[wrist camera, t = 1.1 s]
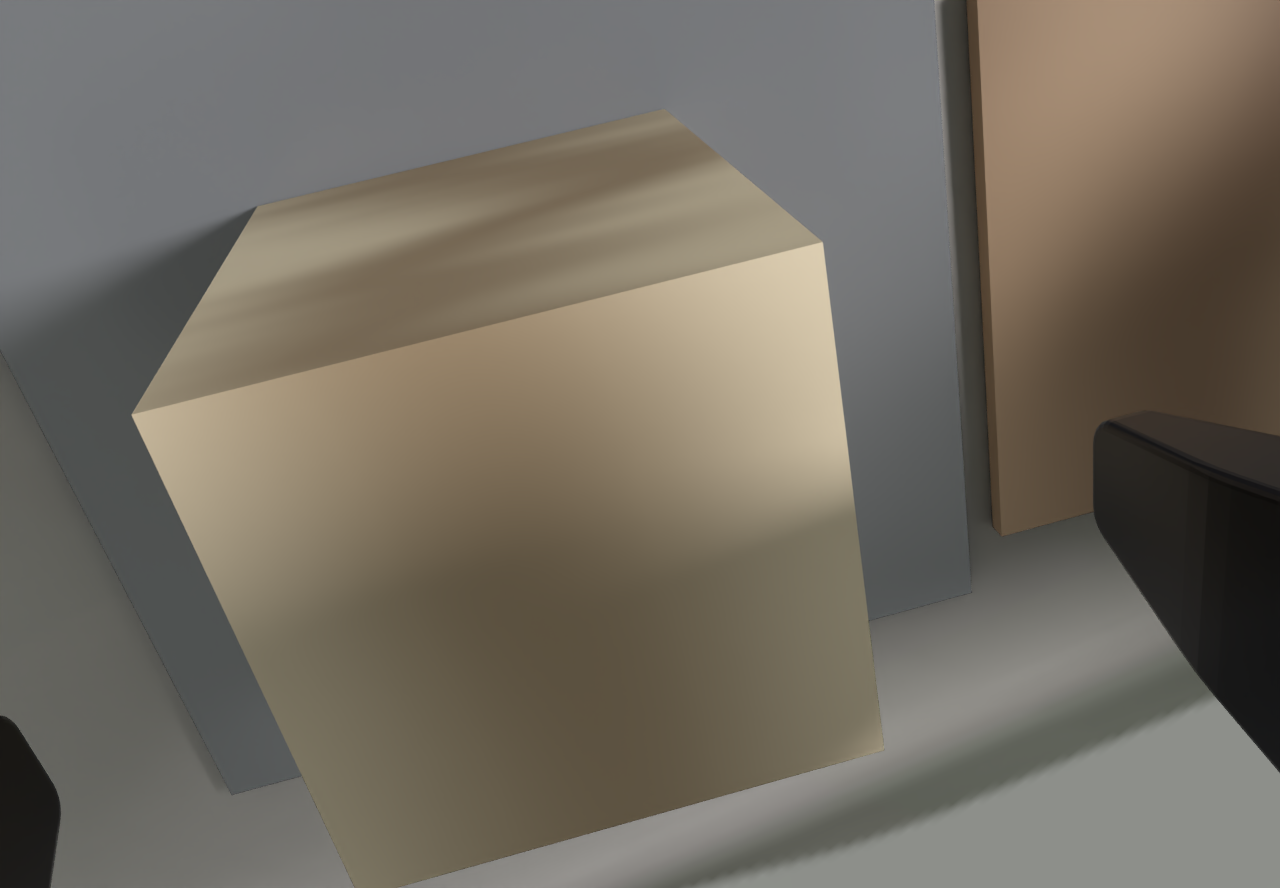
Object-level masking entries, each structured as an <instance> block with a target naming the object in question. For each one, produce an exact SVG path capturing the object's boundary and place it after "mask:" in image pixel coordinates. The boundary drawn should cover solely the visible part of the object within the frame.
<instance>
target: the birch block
mask: <svg viewBox="0 0 1280 888" xmlns="http://www.w3.org/2000/svg"><path fill="white" fill-rule="evenodd" d="M131 415H132V417H133V419H134V422H135V424H136V426H137V428H138V430H139V432H140V434H141V436H142V439H143V441H144V443H145V445H146V447H147V449H148V451H149V453H150V455H151V458H152V460H153V462H154V464H155V466H156V468H157V470H158V472H159V474H160V477H161V479H162V481H163V483H164V485H165V487H166V489H167V491H168V494H169V496H170V498H171V500H172V502H173V504H174V506H175V508H176V510H177V513H178V515H179V517H180V519H181V521H182V523H183V525H184V527H185V530H186V532H187V534H188V536H189V538H190V540H191V542H192V544H193V546H194V549H195V551H196V553H197V555H198V557H199V559H200V561H201V563H202V566H203V568H204V570H205V572H206V574H207V576H208V578H209V580H210V582H211V585H212V587H213V589H214V591H215V593H216V595H217V597H218V599H219V601H220V604H221V606H222V608H223V610H224V612H225V614H226V616H227V618H228V621H229V623H230V625H231V627H232V629H233V631H234V633H235V635H236V637H237V640H238V642H239V644H240V646H241V648H242V650H243V652H244V654H245V657H246V659H247V661H248V663H249V665H250V667H251V669H252V671H253V673H254V676H255V678H256V680H257V682H258V684H259V686H260V688H261V690H262V693H263V695H264V697H265V699H266V701H267V703H268V705H269V707H270V709H271V712H272V714H273V716H274V718H275V720H276V722H277V724H278V726H279V728H280V731H281V733H282V735H283V737H284V739H285V741H286V743H287V745H288V748H289V750H290V752H291V754H292V756H293V758H294V760H295V762H296V764H297V767H298V769H299V771H300V773H301V775H302V777H303V779H304V781H305V784H306V786H307V788H308V790H309V792H310V794H311V796H312V798H313V800H314V803H315V805H316V807H317V809H318V811H319V813H320V815H321V817H322V820H323V822H324V824H325V826H326V828H327V830H328V832H329V834H330V836H331V839H332V841H333V843H334V845H335V847H336V849H337V851H338V853H339V855H340V858H341V860H342V862H343V864H344V866H345V868H346V870H347V872H348V875H349V877H350V879H351V881H352V883H353V885H354V887H355V888H397V887H401V886H404V885H408V884H412V883H415V882H419V881H422V880H426V879H429V878H433V877H436V876H440V875H443V874H447V873H451V872H454V871H458V870H461V869H465V868H468V867H472V866H475V865H479V864H483V863H486V862H490V861H493V860H497V859H500V858H504V857H507V856H511V855H514V854H518V853H522V852H525V851H529V850H532V849H536V848H539V847H543V846H546V845H550V844H554V843H557V842H561V841H564V840H568V839H571V838H575V837H578V836H582V835H585V834H589V833H593V832H596V831H600V830H603V829H607V828H610V827H614V826H617V825H621V824H625V823H628V822H632V821H635V820H639V819H642V818H646V817H649V816H653V815H656V814H660V813H664V812H667V811H671V810H674V809H678V808H681V807H685V806H688V805H692V804H696V803H699V802H703V801H706V800H710V799H713V798H717V797H720V796H724V795H728V794H731V793H735V792H738V791H742V790H745V789H749V788H752V787H756V786H759V785H763V784H767V783H770V782H774V781H777V780H781V779H784V778H788V777H791V776H795V775H799V774H802V773H806V772H809V771H813V770H816V769H820V768H823V767H827V766H830V765H834V764H838V763H841V762H845V761H848V760H852V759H855V758H859V757H862V756H866V755H870V754H873V753H877V752H880V751H884V744H883V736H882V727H881V719H880V711H879V702H878V694H877V686H876V678H875V669H874V661H873V653H872V644H871V636H870V628H869V620H868V611H867V603H866V595H865V587H864V578H863V570H862V562H861V553H860V545H859V537H858V529H857V520H856V512H855V504H854V496H853V487H852V479H851V471H850V462H849V454H848V446H847V438H846V429H845V421H844V413H843V405H842V396H841V388H840V380H839V371H838V363H837V355H836V347H835V338H834V330H833V322H832V313H831V305H830V297H829V289H828V280H827V272H826V264H825V256H824V247H823V242H822V241H821V240H820V239H819V238H817V237H816V236H815V235H814V234H813V233H811V232H810V231H809V230H808V229H807V228H806V227H804V226H803V225H802V224H801V223H800V222H798V221H797V220H796V219H795V218H794V217H792V216H791V215H790V214H789V213H788V212H787V211H785V210H784V209H783V208H782V207H781V206H779V205H778V204H777V203H776V202H775V201H773V200H772V199H771V198H770V197H769V196H768V195H766V194H765V193H764V192H763V191H762V190H760V189H759V188H758V187H757V186H756V185H754V184H753V183H752V182H751V181H750V180H748V179H747V178H746V177H745V176H744V175H743V174H741V173H740V172H739V171H738V170H737V169H735V168H734V167H733V166H732V165H731V164H729V163H728V162H727V161H726V160H725V159H724V158H722V157H721V156H720V155H719V154H718V153H716V152H715V151H714V150H713V149H712V148H710V147H709V146H708V145H707V144H706V143H704V142H703V141H702V140H701V139H700V138H699V137H697V136H696V135H695V134H694V133H693V132H691V131H690V130H689V129H688V128H687V127H685V126H684V125H683V124H682V123H681V122H680V121H678V120H677V119H676V118H675V117H674V116H672V115H671V114H670V113H669V112H668V111H666V110H665V109H662V110H658V111H653V112H649V113H645V114H641V115H637V116H632V117H628V118H624V119H620V120H616V121H612V122H607V123H603V124H599V125H595V126H591V127H586V128H582V129H578V130H574V131H570V132H566V133H561V134H557V135H553V136H549V137H545V138H541V139H536V140H532V141H528V142H524V143H520V144H515V145H511V146H507V147H503V148H499V149H495V150H490V151H486V152H482V153H478V154H474V155H470V156H465V157H461V158H457V159H453V160H449V161H444V162H440V163H436V164H432V165H428V166H424V167H419V168H415V169H411V170H407V171H403V172H399V173H394V174H390V175H386V176H382V177H378V178H373V179H369V180H365V181H361V182H357V183H353V184H348V185H344V186H340V187H336V188H332V189H328V190H323V191H319V192H315V193H311V194H307V195H302V196H298V197H294V198H290V199H286V200H282V201H277V202H273V203H269V204H265V205H261V206H257V208H256V210H255V211H254V213H253V215H252V216H251V218H250V220H249V221H248V223H247V225H246V226H245V228H244V229H243V231H242V233H241V234H240V236H239V238H238V239H237V241H236V243H235V244H234V246H233V248H232V249H231V251H230V253H229V254H228V256H227V258H226V259H225V261H224V263H223V264H222V266H221V267H220V269H219V271H218V272H217V274H216V276H215V277H214V279H213V281H212V282H211V284H210V286H209V287H208V289H207V291H206V292H205V294H204V296H203V297H202V299H201V301H200V302H199V304H198V305H197V307H196V309H195V310H194V312H193V314H192V315H191V317H190V319H189V320H188V322H187V324H186V325H185V327H184V329H183V330H182V332H181V334H180V335H179V337H178V339H177V340H176V342H175V343H174V345H173V347H172V348H171V350H170V352H169V353H168V355H167V357H166V358H165V360H164V362H163V363H162V365H161V367H160V368H159V370H158V372H157V373H156V375H155V376H154V378H153V380H152V381H151V383H150V385H149V386H148V388H147V390H146V391H145V393H144V395H143V396H142V398H141V400H140V401H139V403H138V405H137V406H136V408H135V410H134V411H133V413H132V414H131Z"/></svg>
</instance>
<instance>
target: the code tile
mask: <svg viewBox="0 0 1280 888" xmlns="http://www.w3.org/2000/svg"><path fill="white" fill-rule="evenodd" d="M662 109H665V110H666V111H668V112H669V113H670V114H671V115H672V116H674V117H675V118H676V119H677V120H678V121H680V122H681V123H682V124H683V125H684V126H685V127H687V128H688V129H689V130H690V131H691V132H693V133H694V134H695V135H696V136H697V137H699V138H700V139H701V140H702V141H703V142H704V143H706V144H707V145H708V146H709V147H710V148H712V149H713V150H714V151H715V152H716V153H718V154H719V155H720V156H721V157H722V158H724V159H725V160H726V161H727V162H728V163H729V164H731V165H732V166H733V167H734V168H735V169H737V170H738V171H739V172H740V173H741V174H743V175H744V176H745V177H746V178H747V179H748V180H750V181H751V182H752V183H753V184H754V185H756V186H757V187H758V188H759V189H760V190H762V191H763V192H764V193H765V194H766V195H768V196H769V197H770V198H771V199H772V200H773V201H775V202H776V203H777V204H778V205H779V206H781V207H782V208H783V209H784V210H785V211H787V212H788V213H789V214H790V215H791V216H792V217H794V218H795V219H796V220H797V221H798V222H800V223H801V224H802V225H803V226H804V227H806V228H807V229H808V230H809V231H810V232H811V233H813V234H814V235H815V236H816V237H817V238H819V239H820V240H821V241H822V242H823V247H824V256H825V264H826V272H827V280H828V289H829V297H830V305H831V313H832V322H833V330H834V338H835V347H836V355H837V363H838V371H839V380H840V388H841V396H842V405H843V413H844V421H845V429H846V438H847V446H848V454H849V462H850V471H851V479H852V487H853V496H854V504H855V512H856V520H857V529H858V537H859V545H860V553H861V562H862V570H863V578H864V587H865V595H866V603H867V611H868V620H869V621H870V620H874V619H877V618H881V617H885V616H888V615H892V614H896V613H899V612H903V611H907V610H910V609H914V608H918V607H921V606H925V605H929V604H932V603H936V602H940V601H943V600H947V599H950V598H954V597H958V596H961V595H965V594H969V593H972V590H971V574H970V558H969V542H968V527H967V511H966V495H965V479H964V463H963V448H962V432H961V416H960V400H959V384H958V369H957V353H956V337H955V321H954V305H953V290H952V274H951V258H950V242H949V226H948V210H947V195H946V179H945V163H944V147H943V131H942V116H941V100H940V84H939V68H938V52H937V37H936V21H935V5H934V0H0V351H1V353H2V355H3V357H4V359H5V361H6V363H7V365H8V366H9V368H10V370H11V372H12V374H13V376H14V378H15V380H16V382H17V384H18V386H19V388H20V389H21V391H22V393H23V395H24V397H25V399H26V401H27V403H28V405H29V407H30V409H31V411H32V413H33V414H34V416H35V418H36V420H37V422H38V424H39V426H40V428H41V430H42V432H43V434H44V436H45V437H46V439H47V441H48V443H49V445H50V447H51V449H52V451H53V453H54V455H55V457H56V459H57V461H58V462H59V464H60V466H61V468H62V470H63V472H64V474H65V476H66V478H67V480H68V482H69V484H70V486H71V487H72V489H73V491H74V493H75V495H76V497H77V499H78V501H79V503H80V505H81V507H82V509H83V510H84V512H85V514H86V516H87V518H88V520H89V522H90V524H91V526H92V528H93V530H94V532H95V534H96V535H97V537H98V539H99V541H100V543H101V545H102V547H103V549H104V551H105V553H106V555H107V557H108V559H109V560H110V562H111V564H112V566H113V568H114V570H115V572H116V574H117V576H118V578H119V580H120V582H121V583H122V585H123V587H124V589H125V591H126V593H127V595H128V597H129V599H130V601H131V603H132V605H133V607H134V608H135V610H136V612H137V614H138V616H139V618H140V620H141V622H142V624H143V626H144V628H145V630H146V631H147V633H148V635H149V637H150V639H151V641H152V643H153V645H154V647H155V649H156V651H157V653H158V655H159V656H160V658H161V660H162V662H163V664H164V666H165V668H166V670H167V672H168V674H169V676H170V678H171V680H172V681H173V683H174V685H175V687H176V689H177V691H178V693H179V695H180V697H181V699H182V701H183V703H184V704H185V706H186V708H187V710H188V712H189V714H190V716H191V718H192V720H193V722H194V724H195V726H196V728H197V729H198V731H199V733H200V735H201V737H202V739H203V741H204V743H205V745H206V747H207V749H208V751H209V752H210V754H211V756H212V758H213V760H214V762H215V764H216V766H217V768H218V770H219V772H220V774H221V776H222V777H223V779H224V781H225V783H226V785H227V787H228V789H229V791H230V793H231V795H234V794H238V793H241V792H245V791H249V790H252V789H256V788H260V787H263V786H267V785H270V784H274V783H278V782H281V781H285V780H289V779H292V778H296V777H300V776H302V775H301V773H300V771H299V769H298V767H297V764H296V762H295V760H294V758H293V756H292V754H291V752H290V750H289V748H288V745H287V743H286V741H285V739H284V737H283V735H282V733H281V731H280V728H279V726H278V724H277V722H276V720H275V718H274V716H273V714H272V712H271V709H270V707H269V705H268V703H267V701H266V699H265V697H264V695H263V693H262V690H261V688H260V686H259V684H258V682H257V680H256V678H255V676H254V673H253V671H252V669H251V667H250V665H249V663H248V661H247V659H246V657H245V654H244V652H243V650H242V648H241V646H240V644H239V642H238V640H237V637H236V635H235V633H234V631H233V629H232V627H231V625H230V623H229V621H228V618H227V616H226V614H225V612H224V610H223V608H222V606H221V604H220V601H219V599H218V597H217V595H216V593H215V591H214V589H213V587H212V585H211V582H210V580H209V578H208V576H207V574H206V572H205V570H204V568H203V566H202V563H201V561H200V559H199V557H198V555H197V553H196V551H195V549H194V546H193V544H192V542H191V540H190V538H189V536H188V534H187V532H186V530H185V527H184V525H183V523H182V521H181V519H180V517H179V515H178V513H177V510H176V508H175V506H174V504H173V502H172V500H171V498H170V496H169V494H168V491H167V489H166V487H165V485H164V483H163V481H162V479H161V477H160V474H159V472H158V470H157V468H156V466H155V464H154V462H153V460H152V458H151V455H150V453H149V451H148V449H147V447H146V445H145V443H144V441H143V439H142V436H141V434H140V432H139V430H138V428H137V426H136V424H135V422H134V419H133V417H132V415H131V414H132V413H133V411H134V410H135V408H136V406H137V405H138V403H139V401H140V400H141V398H142V396H143V395H144V393H145V391H146V390H147V388H148V386H149V385H150V383H151V381H152V380H153V378H154V376H155V375H156V373H157V372H158V370H159V368H160V367H161V365H162V363H163V362H164V360H165V358H166V357H167V355H168V353H169V352H170V350H171V348H172V347H173V345H174V343H175V342H176V340H177V339H178V337H179V335H180V334H181V332H182V330H183V329H184V327H185V325H186V324H187V322H188V320H189V319H190V317H191V315H192V314H193V312H194V310H195V309H196V307H197V305H198V304H199V302H200V301H201V299H202V297H203V296H204V294H205V292H206V291H207V289H208V287H209V286H210V284H211V282H212V281H213V279H214V277H215V276H216V274H217V272H218V271H219V269H220V267H221V266H222V264H223V263H224V261H225V259H226V258H227V256H228V254H229V253H230V251H231V249H232V248H233V246H234V244H235V243H236V241H237V239H238V238H239V236H240V234H241V233H242V231H243V229H244V228H245V226H246V225H247V223H248V221H249V220H250V218H251V216H252V215H253V213H254V211H255V210H256V208H257V206H261V205H265V204H269V203H273V202H277V201H282V200H286V199H290V198H294V197H298V196H302V195H307V194H311V193H315V192H319V191H323V190H328V189H332V188H336V187H340V186H344V185H348V184H353V183H357V182H361V181H365V180H369V179H373V178H378V177H382V176H386V175H390V174H394V173H399V172H403V171H407V170H411V169H415V168H419V167H424V166H428V165H432V164H436V163H440V162H444V161H449V160H453V159H457V158H461V157H465V156H470V155H474V154H478V153H482V152H486V151H490V150H495V149H499V148H503V147H507V146H511V145H515V144H520V143H524V142H528V141H532V140H536V139H541V138H545V137H549V136H553V135H557V134H561V133H566V132H570V131H574V130H578V129H582V128H586V127H591V126H595V125H599V124H603V123H607V122H612V121H616V120H620V119H624V118H628V117H632V116H637V115H641V114H645V113H649V112H653V111H658V110H662Z"/></svg>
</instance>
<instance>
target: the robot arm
mask: <svg viewBox="0 0 1280 888" xmlns="http://www.w3.org/2000/svg"><path fill="white" fill-rule="evenodd" d="M1093 510H1094V515H1095V519H1096V522H1097V525H1098V527H1099V530H1100V532H1101V534H1102V535H1103V537H1104V539H1105V540H1106V542H1107V543H1108V545H1109V546H1110V548H1111V549H1112V551H1113V552H1114V554H1115V555H1116V556H1117V558H1118V559H1119V561H1120V562H1121V564H1122V565H1123V567H1124V568H1125V570H1126V571H1127V573H1128V574H1129V576H1130V577H1131V579H1132V580H1133V582H1134V583H1135V585H1136V586H1137V588H1138V589H1139V591H1140V592H1141V594H1142V595H1143V597H1144V598H1145V599H1146V601H1147V602H1148V604H1149V605H1150V607H1151V608H1152V610H1153V611H1154V613H1155V614H1156V616H1157V617H1158V619H1159V620H1160V622H1161V623H1162V625H1163V626H1164V628H1165V629H1166V631H1167V632H1168V634H1169V635H1170V637H1171V638H1172V640H1173V641H1174V643H1175V644H1176V645H1177V647H1178V648H1179V650H1180V651H1181V653H1182V654H1183V656H1184V657H1185V658H1186V660H1187V661H1188V662H1189V664H1190V665H1191V667H1192V668H1193V669H1194V671H1195V672H1196V673H1197V675H1198V676H1199V677H1200V678H1201V680H1202V681H1203V682H1204V683H1205V685H1206V686H1207V687H1208V688H1209V690H1210V691H1211V692H1212V693H1213V695H1214V696H1215V697H1216V698H1217V699H1218V701H1219V702H1220V703H1221V704H1222V705H1223V706H1224V708H1225V709H1226V710H1227V711H1228V712H1229V714H1230V715H1231V716H1232V717H1233V718H1234V719H1235V721H1236V722H1237V723H1238V724H1239V725H1240V726H1241V728H1242V729H1243V730H1244V731H1245V732H1246V733H1247V735H1248V736H1249V737H1250V738H1251V739H1252V740H1253V742H1254V743H1255V744H1256V745H1257V746H1258V748H1259V749H1260V750H1261V751H1262V752H1263V753H1264V755H1265V756H1266V757H1267V758H1268V759H1269V761H1270V762H1271V763H1272V764H1273V765H1274V766H1275V768H1276V769H1277V770H1278V771H1279V772H1280V436H1277V435H1272V434H1267V433H1262V432H1257V431H1252V430H1247V429H1242V428H1237V427H1232V426H1227V425H1222V424H1217V423H1212V422H1207V421H1202V420H1197V419H1192V418H1186V417H1181V416H1176V415H1171V414H1166V413H1161V412H1156V411H1150V410H1146V411H1138V412H1135V413H1131V414H1127V415H1123V416H1120V417H1116V418H1112V419H1109V420H1106V421H1103V422H1102V423H1101V424H1100V425H1099V426H1098V427H1097V429H1096V431H1095V434H1094V440H1093ZM60 817H61V811H60V802H59V797H58V794H57V791H56V789H55V786H54V784H53V783H52V781H51V779H50V778H49V776H48V775H47V773H46V772H45V770H44V768H43V767H42V765H41V764H40V762H39V760H38V759H37V757H36V756H35V754H34V752H33V751H32V749H31V748H30V746H29V744H28V743H27V741H26V740H25V738H24V736H23V735H22V733H21V732H20V730H19V729H18V727H17V726H16V725H15V723H14V722H12V721H11V720H10V719H9V718H7V717H4V716H0V888H50V887H51V880H52V873H53V867H54V860H55V853H56V846H57V840H58V833H59V826H60Z"/></svg>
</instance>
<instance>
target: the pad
mask: <svg viewBox="0 0 1280 888" xmlns="http://www.w3.org/2000/svg"><path fill="white" fill-rule="evenodd" d="M966 1H967V21H968V41H969V61H970V81H971V101H972V121H973V141H974V161H975V181H976V201H977V221H978V241H979V261H980V281H981V301H982V321H983V341H984V361H985V381H986V401H987V421H988V441H989V461H990V481H991V501H992V521H993V528H994V529H995V530H996V531H997V532H998V533H999V534H1000V535H1001V536H1006V535H1009V534H1013V533H1017V532H1020V531H1024V530H1028V529H1032V528H1035V527H1039V526H1043V525H1046V524H1050V523H1054V522H1057V521H1061V520H1065V519H1068V518H1072V517H1076V516H1080V515H1083V514H1087V513H1091V512H1094V510H1093V440H1094V434H1095V431H1096V429H1097V427H1098V426H1099V425H1100V424H1101V423H1102V422H1103V421H1106V420H1109V419H1112V418H1116V417H1120V416H1123V415H1127V414H1131V413H1135V412H1138V411H1146V410H1150V411H1156V412H1161V413H1166V414H1171V415H1176V416H1181V417H1186V418H1192V419H1197V420H1202V421H1207V422H1212V423H1217V424H1222V425H1227V426H1232V427H1237V428H1242V429H1247V430H1252V431H1257V432H1262V433H1267V434H1272V435H1277V436H1280V0H966Z"/></svg>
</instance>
